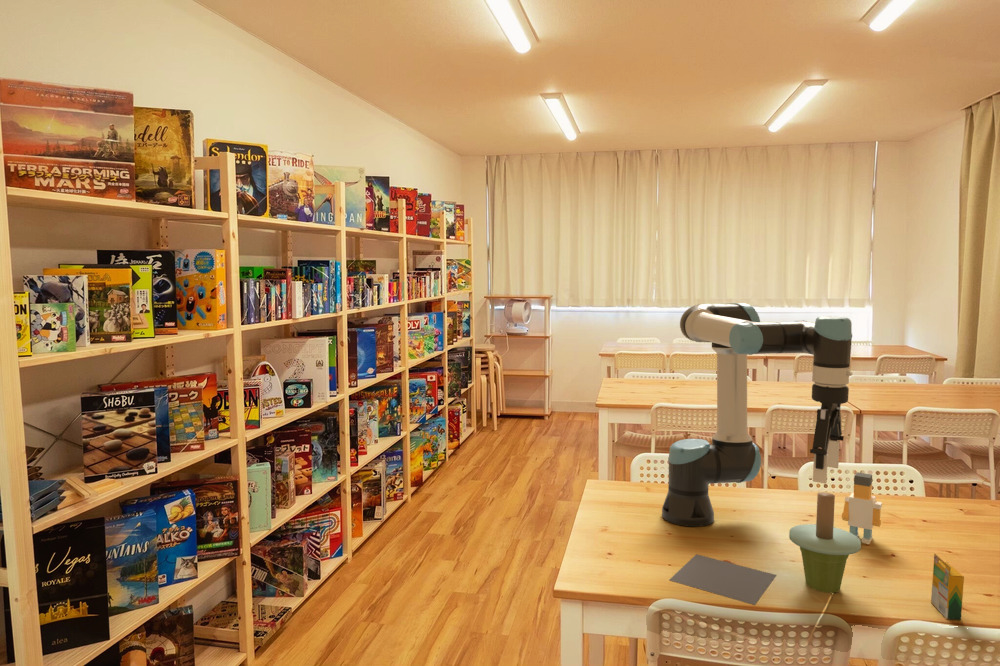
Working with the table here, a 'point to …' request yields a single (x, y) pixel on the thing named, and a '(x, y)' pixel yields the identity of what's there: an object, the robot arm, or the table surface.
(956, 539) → the table surface
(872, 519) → the character figure
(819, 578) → the plant pot
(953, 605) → the crayon box
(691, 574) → the mat
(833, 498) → the lid
